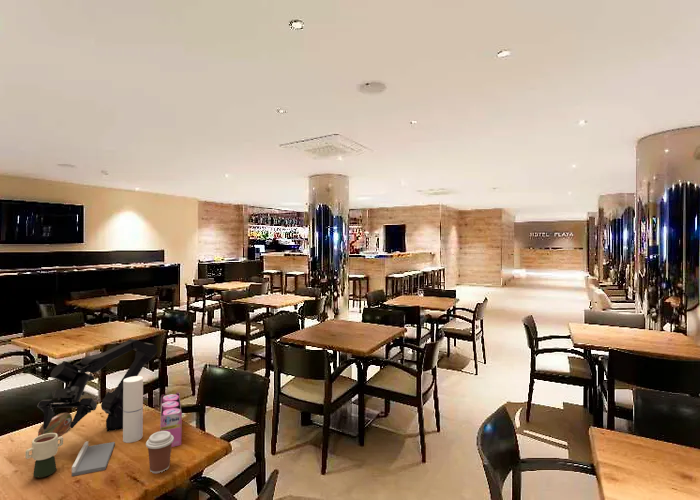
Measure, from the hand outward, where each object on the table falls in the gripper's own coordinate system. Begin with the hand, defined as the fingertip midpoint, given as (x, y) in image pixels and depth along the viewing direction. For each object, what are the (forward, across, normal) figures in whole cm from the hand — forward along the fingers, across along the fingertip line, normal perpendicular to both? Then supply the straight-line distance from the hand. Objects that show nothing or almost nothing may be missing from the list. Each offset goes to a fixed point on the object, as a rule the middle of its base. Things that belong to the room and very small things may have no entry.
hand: (57, 428), depth 137 cm
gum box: (-3, +34, +22) cm, 40 cm away
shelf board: (+8, +12, +10) cm, 18 cm away
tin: (-4, -13, +23) cm, 27 cm away
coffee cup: (+14, +39, +4) cm, 42 cm away
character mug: (+14, 0, +4) cm, 15 cm away
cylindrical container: (-2, +20, +20) cm, 28 cm away
